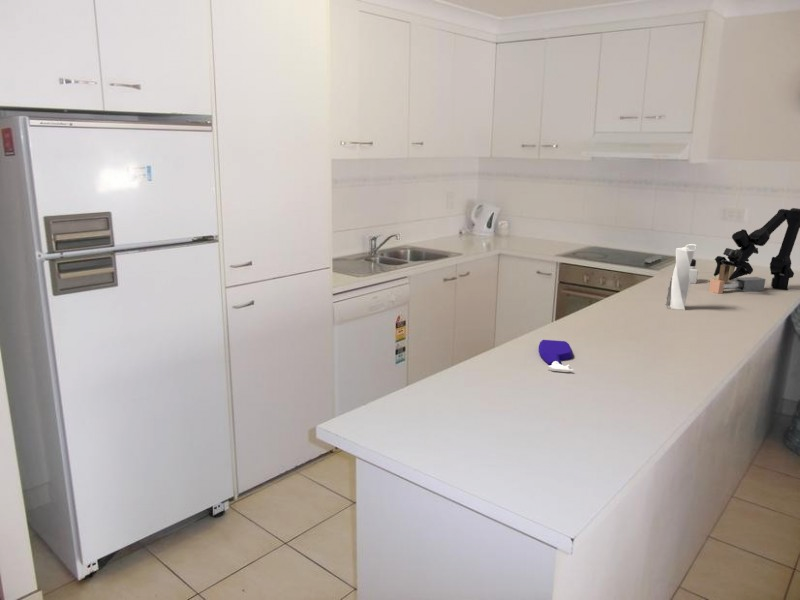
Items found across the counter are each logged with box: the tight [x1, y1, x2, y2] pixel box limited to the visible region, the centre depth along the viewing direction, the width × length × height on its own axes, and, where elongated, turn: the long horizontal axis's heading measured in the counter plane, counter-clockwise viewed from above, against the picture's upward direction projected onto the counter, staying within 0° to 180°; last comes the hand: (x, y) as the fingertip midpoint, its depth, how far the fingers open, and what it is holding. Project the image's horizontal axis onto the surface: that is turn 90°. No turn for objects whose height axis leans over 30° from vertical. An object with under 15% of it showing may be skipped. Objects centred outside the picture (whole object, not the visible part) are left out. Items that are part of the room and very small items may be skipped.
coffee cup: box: [714, 256, 736, 282], centre depth 320 cm, size 9×9×12 cm
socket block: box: [708, 278, 725, 295], centre depth 296 cm, size 3×6×6 cm, turn 17°
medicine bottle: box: [690, 258, 699, 285], centre depth 317 cm, size 7×7×12 cm
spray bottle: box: [538, 339, 574, 373], centre depth 200 cm, size 3×11×24 cm
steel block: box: [734, 276, 766, 293], centre depth 302 cm, size 12×6×6 cm, turn 107°
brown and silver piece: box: [719, 265, 745, 290], centre depth 298 cm, size 18×4×12 cm, turn 107°
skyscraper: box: [665, 243, 698, 311], centre depth 263 cm, size 8×8×28 cm
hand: (721, 277), depth 296 cm, fingers open, 9 cm apart
